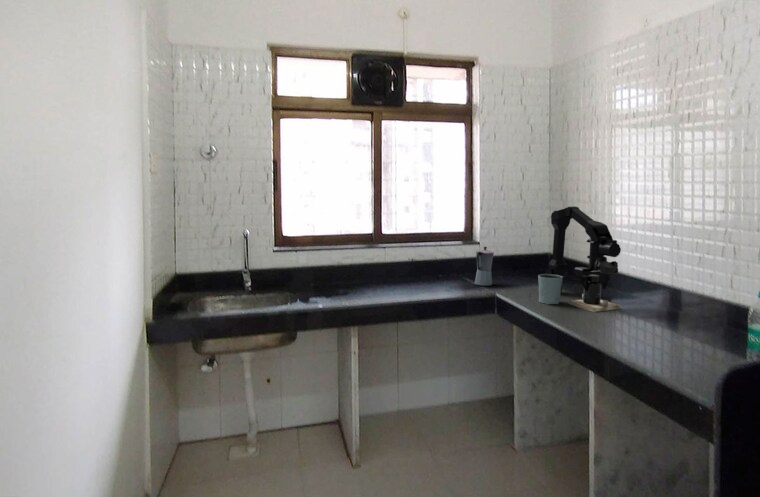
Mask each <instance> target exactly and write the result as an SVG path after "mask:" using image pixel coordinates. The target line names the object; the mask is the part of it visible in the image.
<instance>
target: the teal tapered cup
mask: <svg viewBox="0 0 760 497" xmlns="http://www.w3.org/2000/svg"><path fill="white" fill-rule="evenodd" d="M537 277H538V278H537V279H538V303H539V302H541V303H546V304H557V305H559V304H560V301H561V294H562V292H561V286H562V287H563V280H562V279H563V277H562V276H560V275H553V274H545V273H541V274H538V275H537ZM560 293H561V294H560ZM541 303H540V304H541ZM546 304H545V305H546Z"/></svg>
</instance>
